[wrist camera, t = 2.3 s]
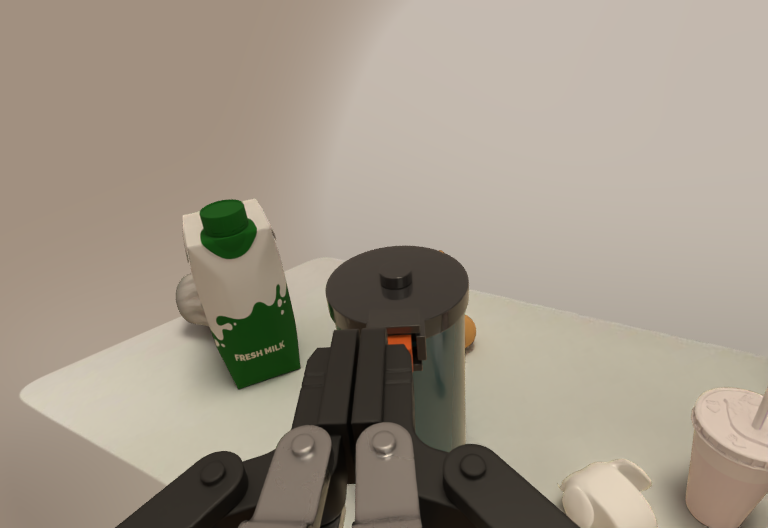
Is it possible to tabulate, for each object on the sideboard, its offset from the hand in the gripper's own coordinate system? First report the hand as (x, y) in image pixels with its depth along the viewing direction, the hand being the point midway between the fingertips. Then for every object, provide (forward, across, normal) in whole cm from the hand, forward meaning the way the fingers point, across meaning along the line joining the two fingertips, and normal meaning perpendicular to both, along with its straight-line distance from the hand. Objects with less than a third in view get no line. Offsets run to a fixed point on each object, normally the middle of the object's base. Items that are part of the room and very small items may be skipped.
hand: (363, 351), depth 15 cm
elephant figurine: (+10, -14, +28) cm, 33 cm away
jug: (+20, 0, +28) cm, 34 cm away
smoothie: (+12, -23, +28) cm, 38 cm away
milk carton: (+31, +17, +28) cm, 45 cm away
